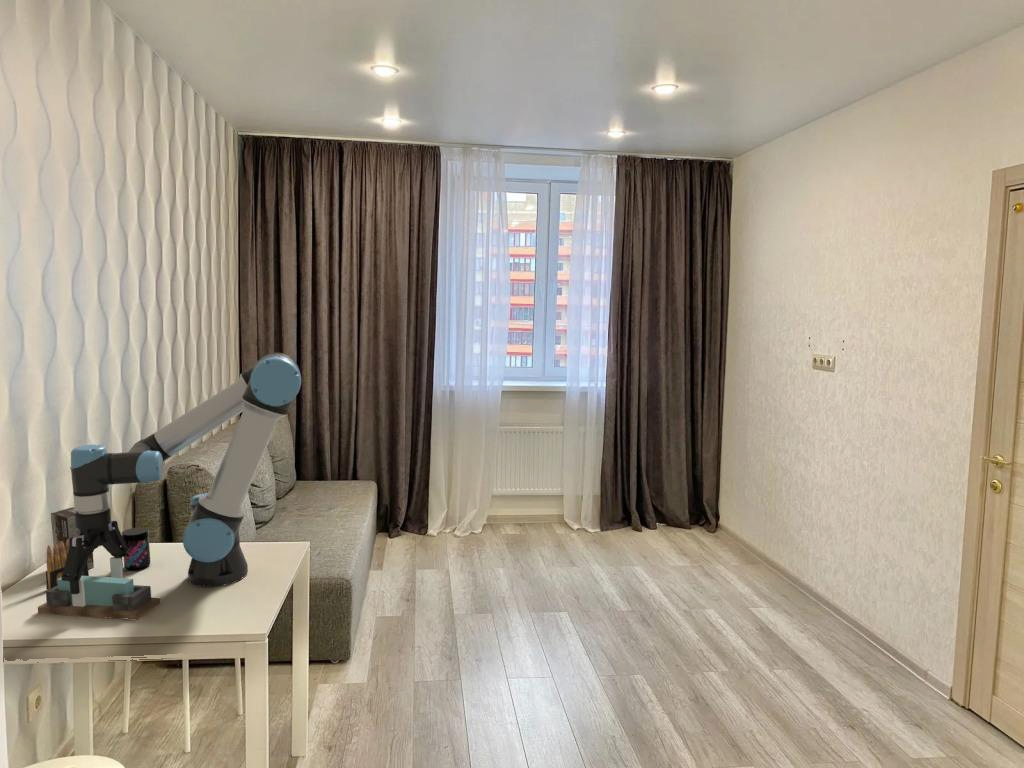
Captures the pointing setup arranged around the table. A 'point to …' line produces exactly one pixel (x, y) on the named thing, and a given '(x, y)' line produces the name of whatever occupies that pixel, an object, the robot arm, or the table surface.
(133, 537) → the supplement container
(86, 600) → the slat
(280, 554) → the table surface
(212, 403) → the robot arm
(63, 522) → the coffee box
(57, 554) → the ammunition clip
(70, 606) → the frame
